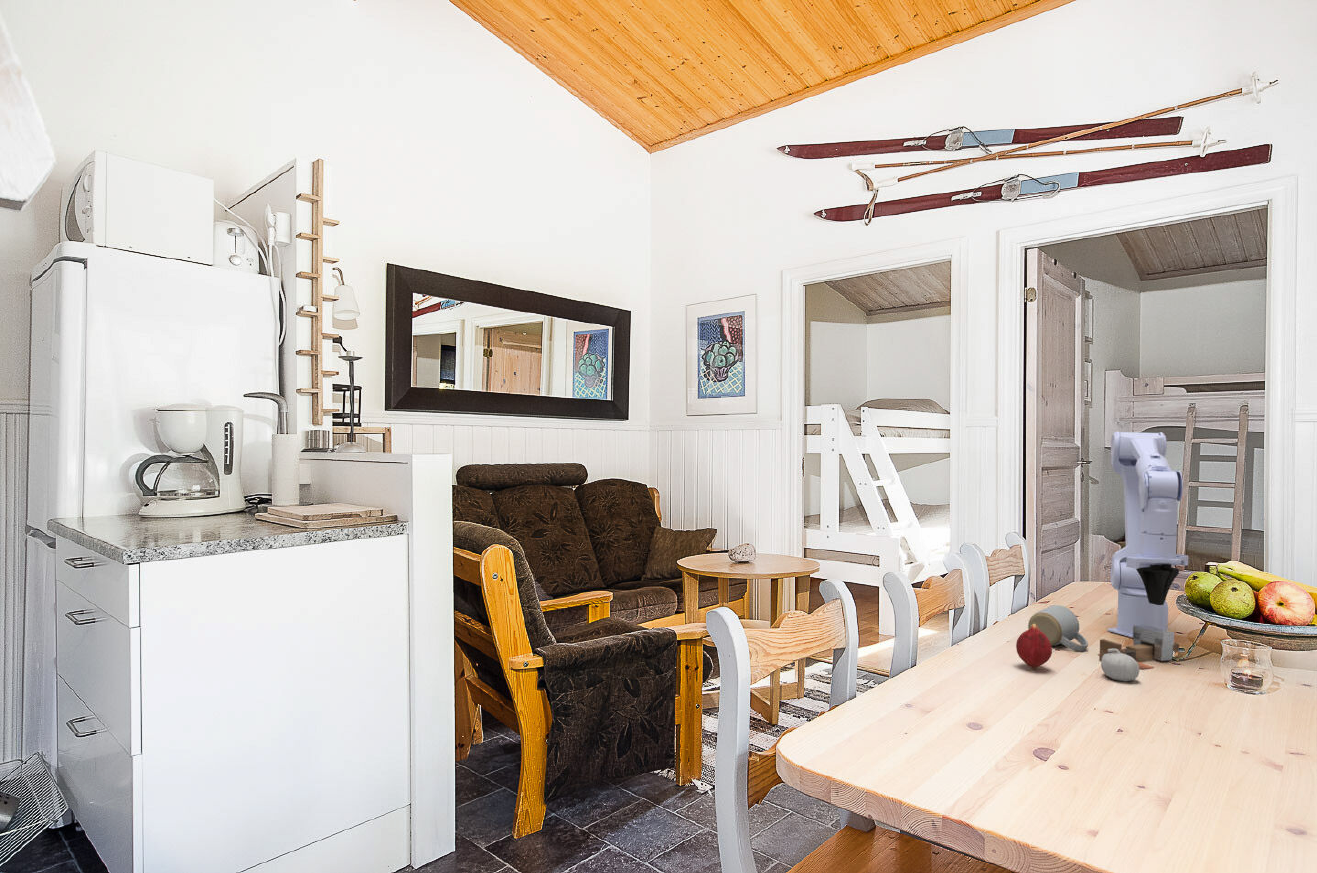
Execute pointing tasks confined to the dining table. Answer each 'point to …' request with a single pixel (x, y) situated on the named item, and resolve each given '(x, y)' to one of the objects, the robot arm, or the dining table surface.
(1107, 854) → the dining table surface
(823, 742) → the dining table surface
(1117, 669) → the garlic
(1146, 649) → the rail
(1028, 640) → the onion
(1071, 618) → the ceramic mug
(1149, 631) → the gray arch block
